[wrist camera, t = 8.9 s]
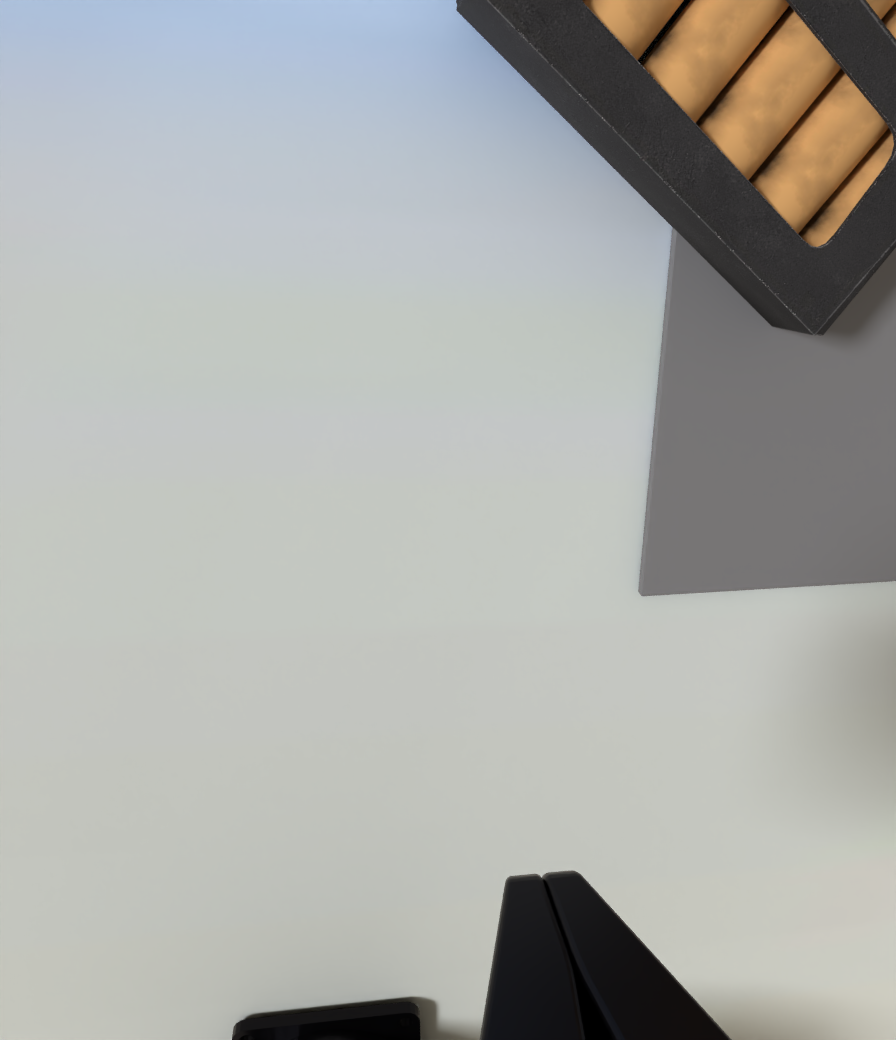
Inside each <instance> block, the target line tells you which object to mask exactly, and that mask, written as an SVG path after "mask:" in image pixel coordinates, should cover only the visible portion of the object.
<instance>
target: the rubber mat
mask: <svg viewBox="0 0 896 1040" xmlns="http://www.w3.org/2000/svg"><path fill="white" fill-rule="evenodd" d="M759 45H760V43H759V44H758V45H757V47H758V46H759ZM757 47H756V48H757ZM756 48H755V49H754V50H753V52H754V51H755V50H756ZM753 52H752V53H753ZM752 53H751V54H750V55H749V57H750V56H751V55H752ZM749 57H748V58H749ZM748 58H747V59H748ZM747 59H746V61H747ZM746 61H745V62H746ZM745 62H744V63H745ZM744 63H743V64H744ZM743 64H742V66H743ZM742 66H741V67H742ZM741 67H740V68H741ZM740 68H739V69H740ZM739 69H738V70H739ZM737 72H738V71H737ZM737 72H736V73H737ZM736 73H735V74H736ZM735 74H734V75H735ZM733 77H734V76H733ZM733 77H732V78H733ZM732 78H731V79H732ZM731 79H730V80H731ZM729 82H730V81H729ZM729 82H728V83H729ZM728 83H727V84H728ZM727 84H726V85H727ZM724 88H725V87H724ZM724 88H723V89H724ZM723 89H722V90H723ZM720 93H721V92H720ZM720 93H719V94H720ZM719 94H718V95H719ZM715 99H716V98H715ZM715 99H714V100H715ZM711 104H712V103H711ZM711 104H710V105H711ZM706 110H707V109H706ZM702 115H703V114H702ZM698 120H699V119H698ZM887 581H896V248H895V249H894V250H893V252H892V253H891V254H890V255H889V256H888V258H887V259H886V260H885V261H884V262H883V264H882V265H881V266H880V267H879V268H878V270H877V271H876V272H875V273H874V274H873V276H872V277H871V278H870V279H869V281H868V282H867V283H866V284H865V285H864V287H863V288H862V289H861V290H860V291H859V293H858V294H857V295H856V296H855V297H854V299H853V300H852V301H851V302H850V303H849V305H848V306H847V307H846V308H845V310H844V311H843V312H842V313H841V314H840V316H839V317H838V318H837V319H836V320H835V322H834V323H833V324H832V325H831V326H830V328H829V329H828V330H827V331H826V332H825V334H824V335H823V336H819V335H815V336H814V335H809V334H804V333H800V332H795V331H790V330H786V329H781V328H776V327H772V326H771V325H770V324H769V323H768V322H767V321H766V320H765V319H764V318H763V317H762V316H761V315H760V314H759V313H758V312H757V311H756V310H755V309H754V308H753V307H752V306H751V305H750V304H749V303H748V302H747V301H746V300H745V299H744V298H743V297H742V296H741V295H740V294H739V293H738V292H737V291H736V290H735V289H734V288H733V287H732V286H731V285H730V284H729V283H728V282H727V281H726V280H725V279H724V278H723V277H722V276H721V275H720V274H719V273H718V272H717V271H716V270H715V269H714V268H713V267H712V266H711V265H710V264H709V263H708V262H707V261H706V260H705V259H704V258H703V257H702V256H701V255H700V254H699V253H698V252H697V251H696V250H695V249H694V248H693V247H692V246H691V245H690V244H689V243H688V242H687V241H686V240H685V239H684V238H683V237H682V236H681V235H680V234H679V233H678V232H677V231H676V230H675V229H674V228H672V239H671V249H670V260H669V271H668V281H667V292H666V303H665V313H664V324H663V335H662V345H661V356H660V367H659V377H658V388H657V399H656V409H655V420H654V431H653V441H652V452H651V463H650V473H649V484H648V494H647V505H646V516H645V526H644V537H643V548H642V558H641V569H640V580H639V590H638V592H639V593H640V594H641V596H654V595H670V594H687V593H704V592H720V591H737V590H754V589H770V588H787V587H804V586H821V585H837V584H854V583H871V582H887Z"/></svg>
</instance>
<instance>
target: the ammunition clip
mask: <svg viewBox="0 0 896 1040" xmlns="http://www.w3.org/2000/svg"><path fill="white" fill-rule="evenodd" d="M683 1H684V0H456V3H457V9H456V10H457V11H458V12H459V13H460V14H461V15H462V16H463V17H464V18H465V19H466V20H467V21H468V22H469V23H470V24H471V25H472V26H473V27H474V28H475V29H476V30H477V31H478V32H479V33H480V34H481V35H482V36H483V37H484V38H485V39H486V40H487V41H488V42H489V43H490V44H491V45H492V46H493V47H494V48H495V49H496V50H497V51H498V52H499V53H500V54H501V55H502V56H503V57H504V58H505V59H506V60H507V61H508V62H509V63H510V65H511V66H512V67H513V68H514V69H515V70H516V71H517V72H518V73H519V74H520V75H521V76H522V77H523V78H524V79H525V80H526V81H527V82H528V83H529V84H530V85H531V86H532V87H533V88H534V89H535V90H536V91H537V92H538V93H539V94H540V95H541V96H542V97H543V98H544V99H545V100H546V101H547V102H548V103H549V104H550V105H551V106H552V107H553V108H554V109H555V110H556V111H557V112H558V113H559V114H560V115H561V116H562V117H563V118H564V119H565V120H566V121H567V122H568V123H569V124H570V125H571V126H572V127H573V128H574V129H575V130H576V131H577V132H578V133H579V134H580V135H581V136H582V137H583V138H584V139H585V140H586V141H587V142H588V143H589V144H590V145H591V146H592V147H593V148H594V149H595V150H596V151H597V152H598V153H599V154H600V155H601V156H602V157H603V158H604V159H605V160H606V161H607V162H608V163H609V164H610V165H611V166H612V167H613V168H614V169H615V170H616V171H617V172H618V173H619V174H620V175H621V176H622V177H623V178H624V179H625V180H626V181H627V182H628V183H629V184H630V185H631V186H632V187H633V188H634V189H635V190H636V191H637V192H638V193H639V194H640V195H641V196H642V197H643V198H644V199H645V200H646V201H647V202H648V203H649V204H650V205H651V206H652V207H653V208H654V209H655V210H656V211H657V212H658V213H659V214H660V215H661V216H662V217H663V218H664V219H665V220H666V221H667V222H668V223H669V224H670V225H671V226H672V227H673V228H674V229H675V230H676V231H677V232H678V233H679V234H680V235H681V236H682V237H683V238H684V239H685V240H686V241H687V242H688V243H689V244H690V245H691V246H692V247H693V248H694V249H695V250H696V251H697V252H698V253H699V254H700V255H701V256H702V257H703V258H704V259H705V260H706V261H707V262H708V263H709V264H710V265H711V266H712V267H713V268H714V269H715V270H716V271H717V272H718V273H719V274H720V275H721V276H722V277H723V278H724V279H725V280H726V281H727V282H728V283H729V284H730V285H731V286H732V287H733V288H734V289H735V290H736V291H737V292H738V293H739V294H740V295H741V296H742V297H743V298H744V299H745V300H746V301H747V302H748V303H749V304H750V305H751V306H752V307H753V308H754V309H755V310H756V311H757V312H758V313H759V314H760V315H761V316H762V317H763V318H764V319H765V320H766V321H767V322H768V323H769V324H770V325H771V326H772V327H776V328H781V329H786V330H790V331H795V332H800V333H804V334H809V335H814V336H815V335H819V336H823V335H824V334H825V332H826V331H827V330H828V329H829V328H830V326H831V325H832V324H833V323H834V322H835V320H836V319H837V318H838V317H839V316H840V314H841V313H842V312H843V311H844V310H845V308H846V307H847V306H848V305H849V303H850V302H851V301H852V300H853V299H854V297H855V296H856V295H857V294H858V293H859V291H860V290H861V289H862V288H863V287H864V285H865V284H866V283H867V282H868V281H869V279H870V278H871V277H872V276H873V274H874V273H875V272H876V271H877V270H878V268H879V267H880V266H881V265H882V264H883V262H884V261H885V260H886V259H887V258H888V256H889V255H890V254H891V253H892V252H893V250H894V249H895V248H896V0H691V1H690V2H689V3H688V4H687V6H686V7H685V8H684V9H683V11H682V12H681V13H680V15H679V16H678V17H677V18H676V20H675V21H674V22H673V23H672V25H671V26H670V27H669V29H668V30H667V31H666V32H665V34H664V35H663V36H662V37H661V39H660V40H659V41H658V42H657V44H656V45H655V46H654V48H653V49H652V50H651V51H650V53H649V54H648V55H647V56H646V58H645V59H644V60H643V62H642V63H641V64H640V63H639V62H638V59H639V58H640V57H641V56H642V54H643V53H644V52H645V50H646V49H647V48H648V46H649V45H650V44H651V43H652V41H653V40H654V39H655V37H656V36H657V35H658V33H659V32H660V31H661V29H662V28H663V27H664V26H665V24H666V23H667V22H668V20H669V19H670V18H671V16H672V15H673V14H674V13H675V11H676V10H677V9H678V7H679V6H680V5H681V3H682V2H683ZM759 43H760V45H759V46H758V47H757V45H758V44H759ZM756 47H757V48H756ZM755 48H756V50H755V51H754V52H753V50H754V49H755ZM752 52H753V53H752ZM751 53H752V55H751V56H750V57H749V55H750V54H751ZM748 57H749V58H748ZM747 58H748V59H747ZM746 59H747V61H746ZM745 61H746V62H745ZM744 62H745V63H744ZM743 63H744V64H743ZM742 64H743V66H742ZM741 66H742V67H741ZM740 67H741V68H740ZM739 68H740V69H739ZM738 69H739V70H738ZM737 71H738V72H737ZM736 72H737V73H736ZM735 73H736V74H735ZM734 74H735V75H734ZM733 76H734V77H733ZM732 77H733V78H732ZM731 78H732V79H731ZM730 79H731V80H730ZM729 81H730V82H729ZM728 82H729V83H728ZM727 83H728V84H727ZM726 84H727V85H726ZM724 87H725V88H724ZM723 88H724V89H723ZM722 89H723V90H722ZM720 92H721V93H720ZM719 93H720V94H719ZM718 94H719V95H718ZM715 98H716V99H715ZM714 99H715V100H714ZM711 103H712V104H711ZM710 104H711V105H710ZM706 109H707V110H706ZM702 114H703V115H702ZM698 119H699V120H698Z"/></svg>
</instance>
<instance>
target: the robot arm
mask: <svg viewBox="0 0 896 1040" xmlns="http://www.w3.org/2000/svg"><path fill="white" fill-rule="evenodd" d="M232 1040H420V1016H419V1009H418V1006H417V1005H415V1004H414V1003H411V1002H400V1003H391V1004H382V1005H373V1006H364V1007H354V1008H345V1009H336V1010H327V1011H318V1012H309V1013H299V1014H290V1015H281V1016H272V1017H263V1018H254V1019H246V1020H242V1021H240V1022H238V1023H236V1025H235V1026H234V1029H233V1036H232ZM480 1040H731V1039H730V1038H729V1037H728V1036H727V1034H726V1033H725V1032H724V1031H723V1030H722V1029H721V1028H720V1027H719V1026H718V1025H717V1023H716V1022H715V1021H714V1020H713V1019H712V1018H711V1017H710V1016H709V1015H708V1014H707V1012H706V1011H705V1010H704V1009H703V1008H702V1007H701V1006H700V1005H699V1004H698V1003H697V1002H696V1000H695V999H694V998H693V997H692V996H691V995H690V994H689V993H688V992H687V991H686V989H685V988H684V987H683V986H682V985H681V984H680V983H679V982H678V981H677V980H676V978H675V977H674V976H673V975H672V974H671V973H670V972H669V971H668V970H667V969H666V967H665V966H664V965H663V964H662V963H661V962H660V961H659V960H658V959H657V958H656V957H655V955H654V954H653V953H652V952H651V951H650V950H649V949H648V948H647V947H646V946H645V944H644V943H643V942H642V941H641V940H640V939H639V938H638V937H637V936H636V935H635V933H634V932H633V931H632V930H631V929H630V928H629V927H628V926H627V925H626V924H625V923H624V921H623V920H622V919H621V918H620V917H619V916H618V915H617V914H616V913H615V912H614V910H613V909H612V908H611V907H610V906H609V905H608V904H607V903H606V902H605V901H604V899H603V898H602V897H601V896H600V895H599V894H598V893H597V892H596V891H595V890H594V888H593V887H592V886H591V885H590V884H589V883H588V882H587V881H586V880H585V879H584V878H583V876H582V875H581V874H579V873H578V872H576V871H561V872H550V873H546V874H544V875H543V877H542V878H541V877H540V876H539V875H538V874H529V875H518V876H510V877H508V878H507V880H506V882H505V887H504V893H503V900H502V906H501V912H500V918H499V924H498V930H497V937H496V943H495V949H494V955H493V961H492V968H491V974H490V980H489V986H488V992H487V998H486V1005H485V1011H484V1017H483V1023H482V1029H481V1035H480Z"/></svg>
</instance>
